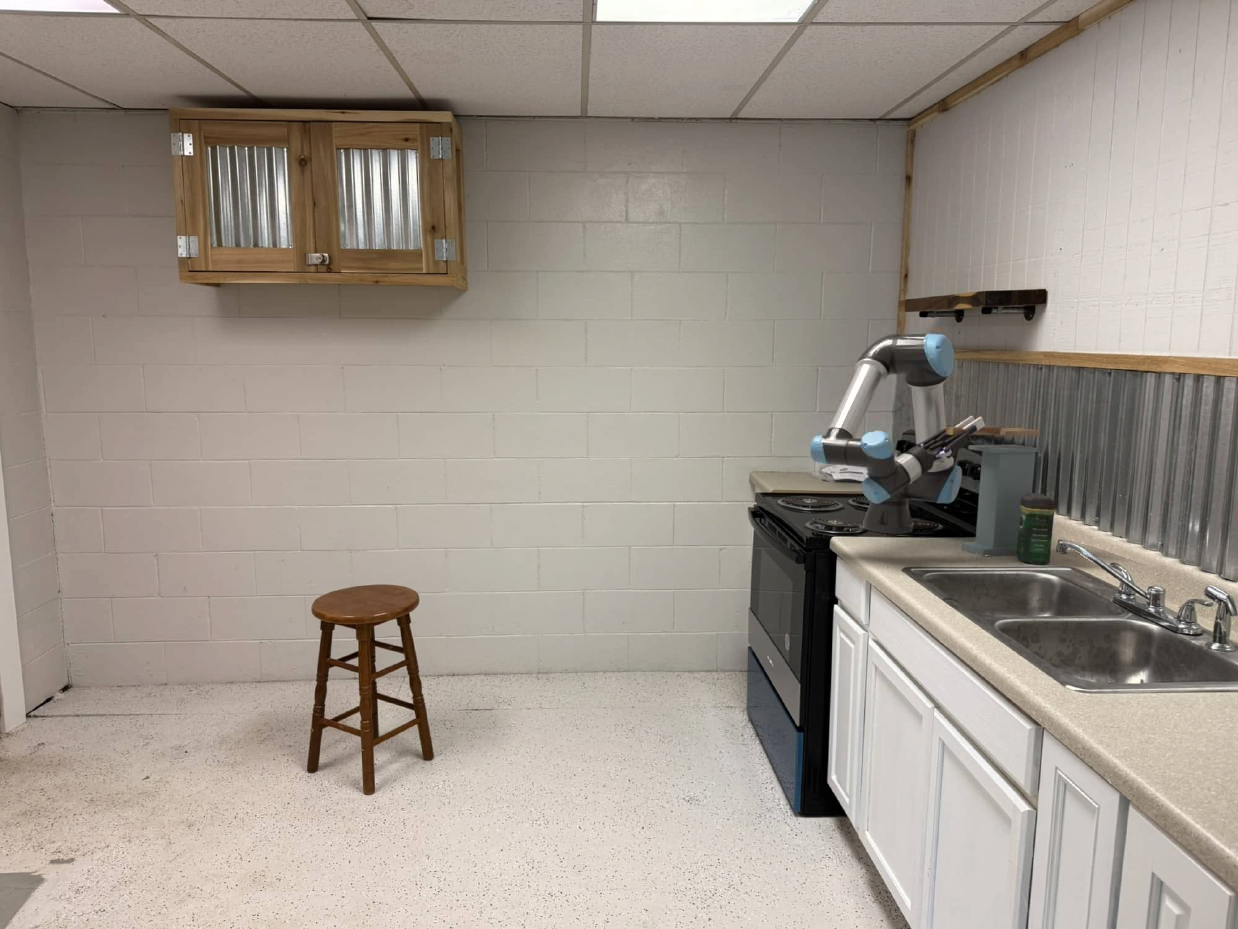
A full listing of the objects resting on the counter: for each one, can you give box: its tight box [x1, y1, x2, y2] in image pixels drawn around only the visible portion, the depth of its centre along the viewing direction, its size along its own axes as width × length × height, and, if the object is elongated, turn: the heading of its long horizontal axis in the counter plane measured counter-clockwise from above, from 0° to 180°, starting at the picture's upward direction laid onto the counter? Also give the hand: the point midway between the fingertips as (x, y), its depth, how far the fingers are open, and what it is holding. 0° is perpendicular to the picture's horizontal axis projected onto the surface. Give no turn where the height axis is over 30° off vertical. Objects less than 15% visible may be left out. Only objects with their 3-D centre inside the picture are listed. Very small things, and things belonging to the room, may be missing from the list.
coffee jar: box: [1015, 492, 1056, 565], centre depth 231 cm, size 10×8×19 cm
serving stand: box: [960, 444, 1040, 557], centre depth 241 cm, size 9×16×30 cm, turn 108°
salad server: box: [946, 425, 1039, 436], centre depth 237 cm, size 8×26×2 cm, turn 108°
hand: (978, 420), depth 236 cm, fingers closed on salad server, 3 cm apart
